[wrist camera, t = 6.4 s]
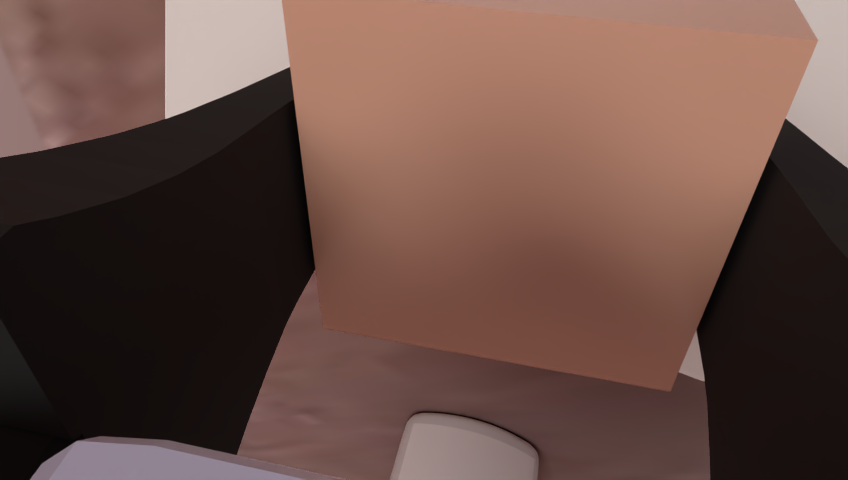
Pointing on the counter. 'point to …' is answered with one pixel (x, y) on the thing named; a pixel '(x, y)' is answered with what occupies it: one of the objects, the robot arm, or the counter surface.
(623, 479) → the counter surface
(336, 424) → the counter surface
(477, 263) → the tan brick
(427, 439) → the eye dropper bottle
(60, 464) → the robot arm
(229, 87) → the post board
